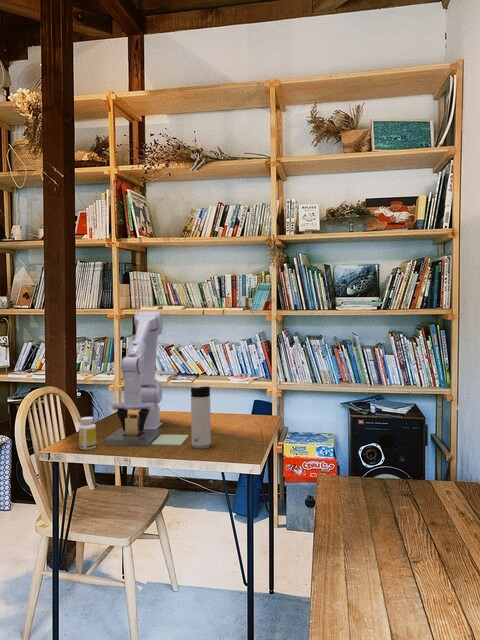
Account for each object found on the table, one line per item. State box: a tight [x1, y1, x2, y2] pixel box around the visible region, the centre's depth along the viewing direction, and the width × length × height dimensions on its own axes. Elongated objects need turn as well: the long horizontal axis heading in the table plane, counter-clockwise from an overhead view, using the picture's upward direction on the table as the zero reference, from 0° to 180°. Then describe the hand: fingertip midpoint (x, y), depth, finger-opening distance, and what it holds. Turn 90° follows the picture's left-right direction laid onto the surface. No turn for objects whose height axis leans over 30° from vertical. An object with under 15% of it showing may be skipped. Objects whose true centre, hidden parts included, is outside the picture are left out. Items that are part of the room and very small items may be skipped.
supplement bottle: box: [78, 416, 97, 451], centre depth 168 cm, size 5×5×10 cm
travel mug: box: [190, 386, 212, 450], centre depth 167 cm, size 6×7×20 cm
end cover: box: [125, 413, 142, 437], centre depth 177 cm, size 4×4×9 cm
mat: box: [150, 434, 189, 447], centre depth 175 cm, size 12×10×1 cm
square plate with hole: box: [104, 427, 162, 447], centre depth 177 cm, size 15×15×2 cm
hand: (133, 430), depth 177 cm, fingers open, 5 cm apart
